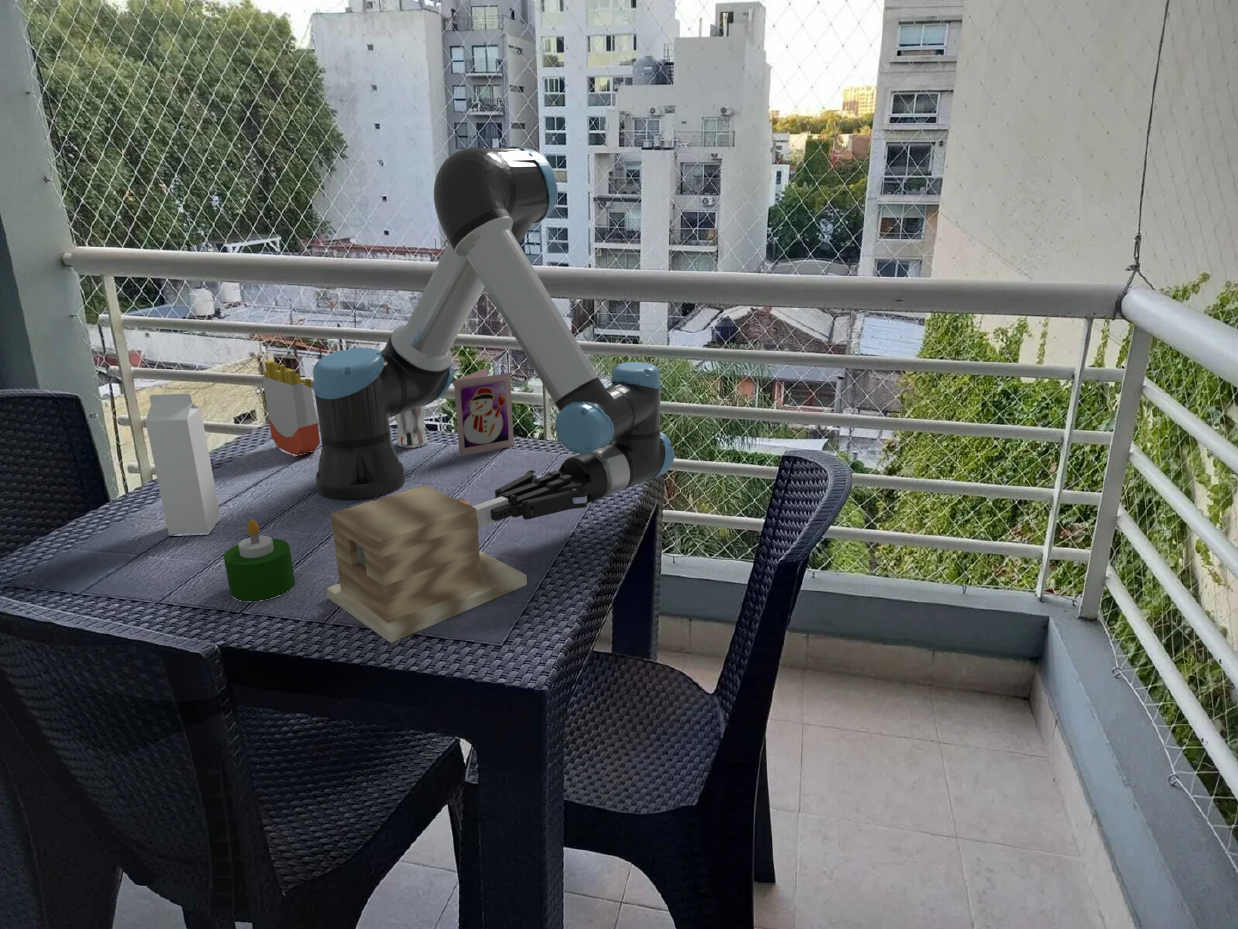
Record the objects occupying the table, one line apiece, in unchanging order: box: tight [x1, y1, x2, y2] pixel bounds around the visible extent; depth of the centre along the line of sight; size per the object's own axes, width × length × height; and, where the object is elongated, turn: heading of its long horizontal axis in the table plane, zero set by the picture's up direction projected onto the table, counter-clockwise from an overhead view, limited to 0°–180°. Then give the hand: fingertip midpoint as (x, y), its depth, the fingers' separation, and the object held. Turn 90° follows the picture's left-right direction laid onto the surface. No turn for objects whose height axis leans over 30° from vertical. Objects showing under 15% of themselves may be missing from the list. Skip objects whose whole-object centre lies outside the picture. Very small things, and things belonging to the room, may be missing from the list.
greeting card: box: [453, 367, 515, 457], centre depth 172 cm, size 11×7×15 cm, turn 120°
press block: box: [326, 484, 528, 644], centre depth 116 cm, size 21×16×12 cm
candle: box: [223, 519, 296, 602], centre depth 118 cm, size 8×8×10 cm
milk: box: [145, 393, 222, 535], centre depth 135 cm, size 6×6×22 cm
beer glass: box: [394, 405, 429, 449], centre depth 175 cm, size 7×7×15 cm
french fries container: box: [261, 360, 321, 455], centre depth 170 cm, size 5×11×18 cm, turn 50°
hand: (467, 519), depth 120 cm, fingers closed
